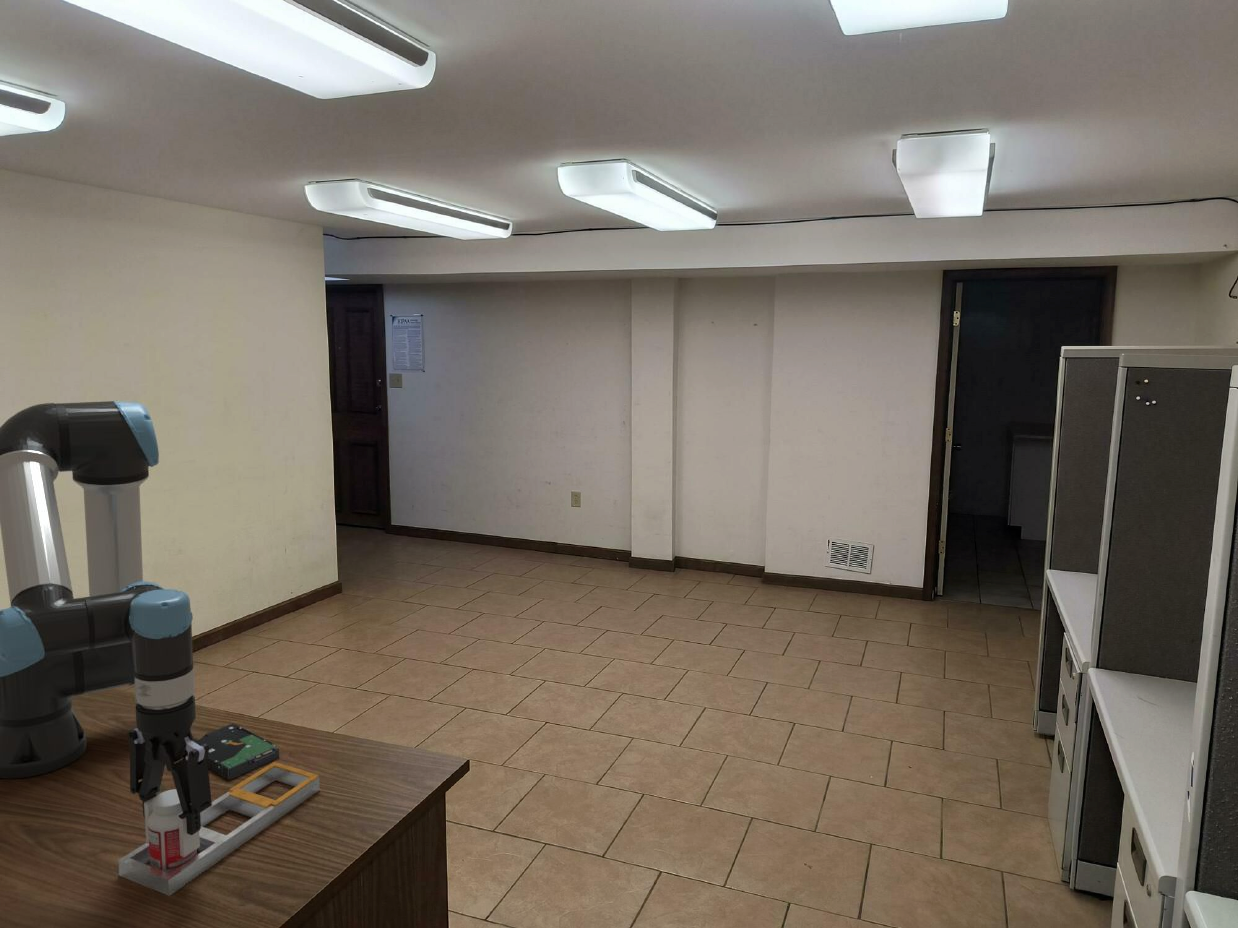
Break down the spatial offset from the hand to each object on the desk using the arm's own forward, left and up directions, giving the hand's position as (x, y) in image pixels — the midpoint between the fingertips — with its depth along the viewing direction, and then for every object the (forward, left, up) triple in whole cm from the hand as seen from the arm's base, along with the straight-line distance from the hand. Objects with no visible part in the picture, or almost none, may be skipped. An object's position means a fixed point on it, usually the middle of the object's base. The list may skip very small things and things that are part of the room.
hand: (172, 844), depth 125 cm
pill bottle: (0, 0, -4) cm, 4 cm away
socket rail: (0, +10, -3) cm, 11 cm away
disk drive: (-17, +27, -4) cm, 32 cm away
